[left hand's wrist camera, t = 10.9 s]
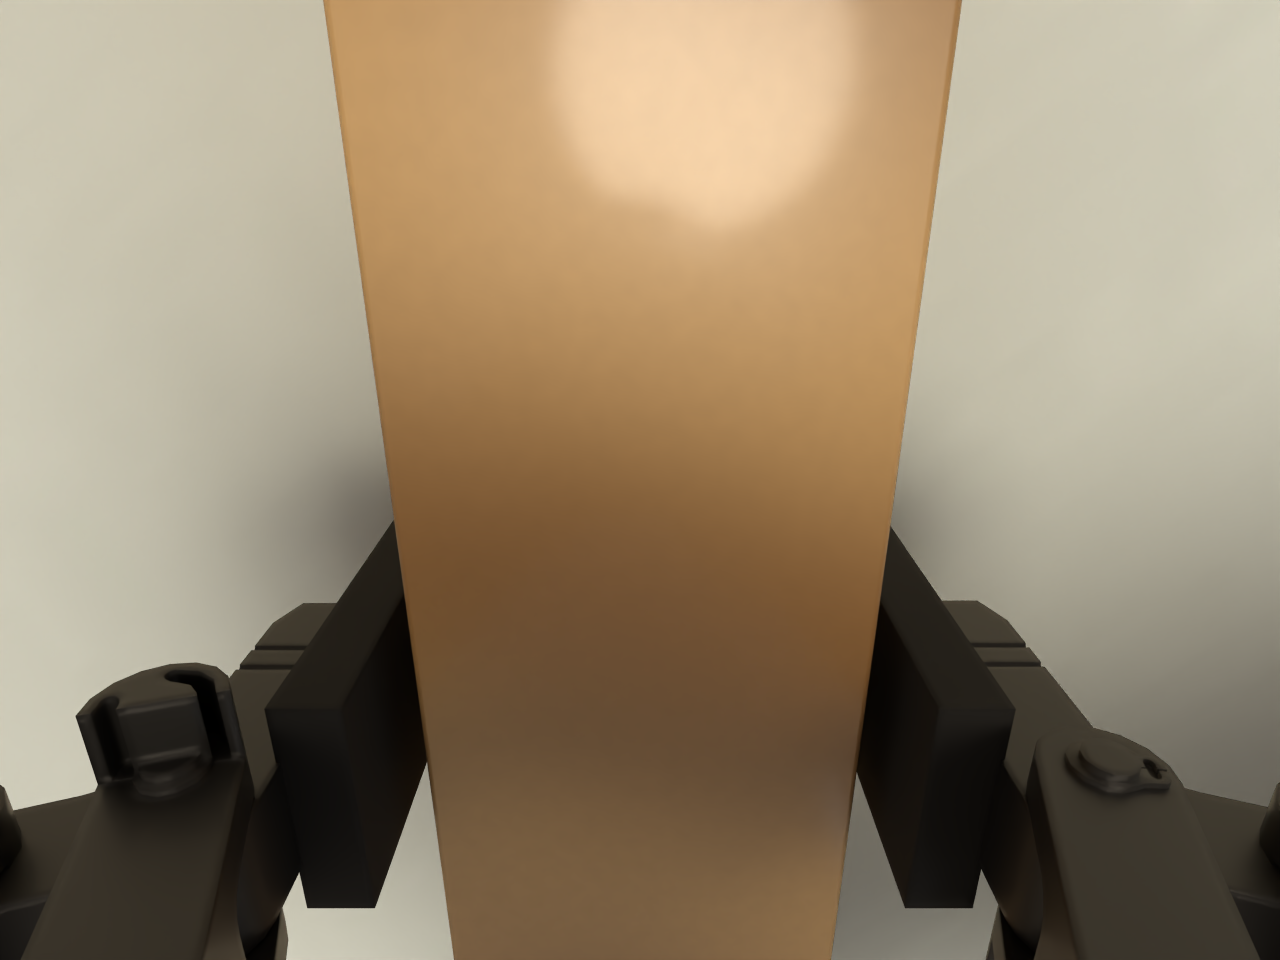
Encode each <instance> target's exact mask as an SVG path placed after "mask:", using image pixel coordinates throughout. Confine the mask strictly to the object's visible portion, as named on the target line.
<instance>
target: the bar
mask: <svg viewBox="0 0 1280 960" xmlns="http://www.w3.org/2000/svg"><path fill="white" fill-rule="evenodd" d="M323 2H324V9H325V16H326V24H327V31H328V38H329V46H330V53H331V60H332V68H333V75H334V82H335V90H336V97H337V104H338V112H339V119H340V126H341V134H342V141H343V148H344V156H345V163H346V170H347V178H348V185H349V192H350V200H351V207H352V214H353V222H354V229H355V236H356V244H357V251H358V258H359V266H360V273H361V280H362V288H363V295H364V302H365V310H366V317H367V324H368V332H369V339H370V346H371V354H372V361H373V368H374V376H375V383H376V390H377V398H378V405H379V412H380V420H381V427H382V434H383V442H384V449H385V456H386V464H387V471H388V478H389V486H390V493H391V500H392V508H393V515H394V522H395V530H396V537H397V544H398V552H399V559H400V566H401V574H402V581H403V588H404V596H405V603H406V610H407V618H408V625H409V632H410V640H411V647H412V654H413V662H414V669H415V676H416V684H417V691H418V698H419V706H420V713H421V720H422V728H423V735H424V742H425V750H426V757H427V764H428V772H429V779H430V786H431V794H432V801H433V808H434V816H435V823H436V830H437V838H438V845H439V852H440V860H441V867H442V874H443V882H444V889H445V896H446V904H447V911H448V918H449V926H450V933H451V940H452V948H453V955H454V960H831V956H832V948H833V941H834V934H835V926H836V919H837V912H838V904H839V897H840V890H841V882H842V875H843V868H844V860H845V853H846V846H847V838H848V831H849V824H850V817H851V809H852V802H853V795H854V787H855V780H856V773H857V765H858V758H859V751H860V743H861V736H862V729H863V721H864V714H865V707H866V699H867V692H868V685H869V678H870V670H871V663H872V656H873V648H874V641H875V634H876V626H877V619H878V612H879V604H880V597H881V590H882V582H883V575H884V568H885V561H886V553H887V546H888V539H889V531H890V524H891V517H892V509H893V502H894V495H895V487H896V480H897V473H898V465H899V458H900V451H901V443H902V436H903V429H904V422H905V414H906V407H907V400H908V392H909V385H910V378H911V370H912V363H913V356H914V348H915V341H916V334H917V326H918V319H919V312H920V305H921V297H922V290H923V283H924V275H925V268H926V261H927V253H928V246H929V239H930V231H931V224H932V217H933V209H934V202H935V195H936V187H937V180H938V173H939V166H940V158H941V151H942V144H943V136H944V129H945V122H946V114H947V107H948V100H949V92H950V85H951V78H952V70H953V63H954V56H955V48H956V41H957V34H958V27H959V19H960V12H961V5H962V0H323Z"/></svg>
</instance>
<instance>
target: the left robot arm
mask: <svg viewBox="0 0 1280 960" xmlns="http://www.w3.org/2000/svg"><path fill="white" fill-rule="evenodd" d="M76 719H77V722H78V725H79V728H80V731H81V734H82V737H83V740H84V743H85V747H86V750H87V753H88V756H89V759H90V762H91V765H92V768H93V771H94V774H95V777H96V780H97V783H98V786H97V788H96V791H95V792H93V793H89V794H86V795H82V796H78V797H73V798H69V799H64V800H59V801H55V802H50V803H46V804H41V805H37V806H32V807H27V808H23V809H18V810H14V811H13V809H12V806H11V804H10V801H9V799H8V796H7V793H6V791H5V788H4V787H2V786H1V785H0V960H286V955H287V946H288V935H287V928H286V921H285V917H284V913H283V908H282V907H283V905H284V903H285V901H286V899H287V896H288V894H289V892H290V890H291V888H292V886H293V884H294V882H295V880H296V878H297V876H298V874H299V872H300V876H301V881H302V886H303V890H304V895H305V900H306V904H307V908H375V906H376V904H377V901H378V898H379V895H380V892H381V890H382V887H383V884H384V881H385V878H386V875H387V873H388V870H389V867H390V864H391V861H392V859H393V856H394V853H395V850H396V847H397V844H398V842H399V839H400V836H401V833H402V830H403V828H404V825H405V822H406V819H407V816H408V814H409V811H410V808H411V805H412V802H413V799H414V797H415V794H416V791H417V788H418V785H419V783H420V780H421V777H422V774H423V771H424V768H425V766H426V763H427V757H426V750H425V742H424V735H423V728H422V720H421V713H420V706H419V698H418V691H417V684H416V676H415V669H414V662H413V654H412V647H411V640H410V632H409V625H408V618H407V610H406V603H405V596H404V588H403V581H402V574H401V566H400V559H399V552H398V544H397V537H396V530H395V522H394V521H393V522H392V523H391V525H390V526H389V528H388V529H387V531H386V532H385V534H384V535H383V537H382V538H381V539H380V541H379V542H378V544H377V545H376V547H375V548H374V550H373V551H372V553H371V554H370V555H369V557H368V558H367V560H366V561H365V563H364V564H363V566H362V567H361V569H360V570H359V572H358V573H357V574H356V576H355V577H354V579H353V580H352V582H351V583H350V585H349V586H348V588H347V589H346V590H345V592H344V593H343V595H342V596H341V598H340V599H339V601H338V602H337V603H303V604H301V605H300V606H298V607H297V608H295V609H294V610H292V611H291V612H289V613H288V614H286V615H285V616H283V617H282V618H280V619H278V620H277V621H275V622H274V623H273V624H272V625H271V626H270V628H269V629H268V630H267V631H266V633H265V634H264V635H263V636H262V638H261V639H260V640H259V641H258V643H257V644H256V645H255V650H251V652H250V653H249V654H248V655H247V657H246V658H245V659H244V660H243V662H242V663H241V664H240V669H239V670H235V672H234V673H233V674H232V675H231V677H230V678H229V677H228V676H227V675H226V674H225V673H224V672H222V671H221V670H220V669H219V668H217V667H215V666H210V665H205V664H201V663H181V664H169V665H165V666H161V667H157V668H153V669H149V670H144V671H141V672H139V673H136V674H134V675H132V676H129V677H127V678H125V679H122V680H120V681H118V682H115V683H113V684H112V685H110V686H109V687H107V688H106V689H104V690H103V691H101V692H100V693H98V694H97V695H95V696H94V697H92V698H91V699H90V700H89V701H88V702H87V703H86V704H85V706H84V707H83V708H82V709H81V710H80V711H79V713H78V714H77V715H76ZM857 774H858V777H859V780H860V782H861V785H862V788H863V791H864V794H865V797H866V799H867V802H868V805H869V808H870V811H871V813H872V816H873V819H874V822H875V825H876V828H877V830H878V833H879V836H880V839H881V842H882V844H883V847H884V850H885V853H886V856H887V859H888V861H889V864H890V867H891V870H892V873H893V875H894V878H895V881H896V884H897V887H898V889H899V892H900V895H901V898H902V901H903V904H904V906H905V908H973V904H974V900H975V895H976V890H977V886H978V881H979V877H980V872H981V869H982V872H983V874H984V876H985V878H986V880H987V882H988V884H989V886H990V888H991V890H992V892H993V894H994V896H995V898H996V901H997V903H998V908H997V913H996V917H995V921H994V926H993V930H992V934H991V938H990V943H989V947H988V951H987V956H986V960H1280V783H1278V784H1277V786H1276V788H1275V791H1274V793H1273V796H1272V799H1271V801H1270V804H1269V806H1268V807H1264V806H1260V805H1255V804H1250V803H1246V802H1241V801H1237V800H1232V799H1227V798H1223V797H1218V796H1214V795H1209V794H1205V793H1200V792H1196V791H1193V790H1189V789H1186V788H1184V787H1183V784H1182V783H1181V781H1180V780H1179V779H1178V777H1177V776H1176V775H1175V773H1174V772H1173V770H1172V769H1171V768H1170V766H1169V765H1168V764H1166V763H1165V762H1164V761H1163V760H1161V759H1160V758H1159V757H1157V756H1156V755H1155V754H1153V753H1152V752H1151V751H1150V750H1148V749H1147V748H1145V747H1143V746H1141V745H1139V744H1137V743H1135V742H1133V741H1131V740H1129V739H1127V738H1125V737H1123V736H1121V735H1117V734H1113V733H1110V732H1106V731H1103V730H1099V729H1096V728H1093V727H1092V725H1091V724H1090V723H1089V722H1088V720H1087V719H1086V718H1085V717H1084V715H1083V714H1082V713H1081V712H1080V710H1079V709H1078V708H1077V707H1076V705H1075V704H1074V703H1073V702H1072V700H1071V699H1070V698H1069V697H1068V695H1067V694H1066V693H1065V692H1064V690H1063V689H1062V688H1061V687H1060V685H1059V684H1058V683H1057V682H1056V681H1055V679H1054V678H1053V677H1052V676H1051V674H1050V673H1049V672H1048V671H1047V669H1046V668H1045V667H1041V662H1040V661H1039V659H1038V658H1037V657H1036V656H1035V654H1034V653H1033V652H1032V651H1031V649H1030V648H1026V646H1025V642H1024V641H1023V639H1022V638H1021V637H1020V636H1019V634H1018V633H1017V632H1016V631H1015V629H1014V628H1013V627H1012V626H1011V624H1010V623H1009V622H1008V621H1007V620H1006V619H1005V618H1003V617H1001V616H1000V615H998V614H997V613H995V612H994V611H992V610H991V609H989V608H988V607H986V606H984V605H983V604H981V603H980V602H978V601H941V599H940V598H939V596H938V595H937V593H936V592H935V590H934V589H933V587H932V586H931V585H930V583H929V582H928V580H927V579H926V577H925V576H924V574H923V573H922V571H921V570H920V569H919V567H918V566H917V564H916V563H915V561H914V560H913V558H912V557H911V555H910V554H909V553H908V551H907V550H906V548H905V547H904V545H903V544H902V542H901V541H900V539H899V538H898V537H897V535H896V534H895V532H894V531H893V529H892V528H891V526H890V531H889V539H888V546H887V553H886V561H885V568H884V575H883V582H882V590H881V597H880V604H879V612H878V619H877V626H876V634H875V641H874V648H873V656H872V663H871V670H870V678H869V685H868V692H867V699H866V707H865V714H864V721H863V729H862V736H861V743H860V751H859V758H858V765H857Z"/></svg>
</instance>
